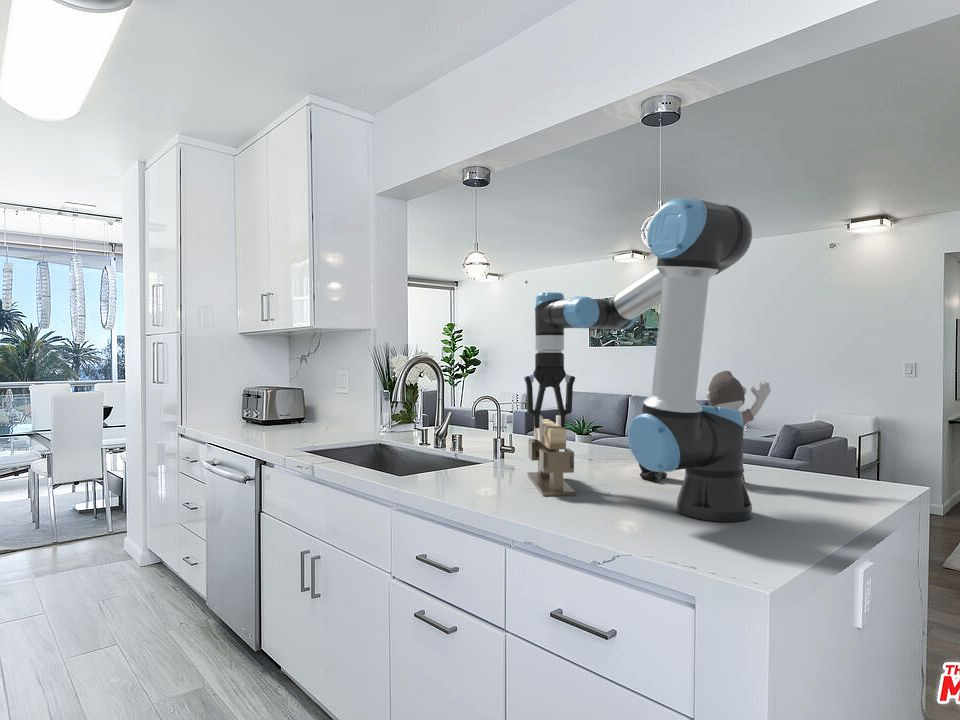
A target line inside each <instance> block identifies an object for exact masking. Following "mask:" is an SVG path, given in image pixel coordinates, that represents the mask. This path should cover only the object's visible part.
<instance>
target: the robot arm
mask: <svg viewBox="0 0 960 720" xmlns="http://www.w3.org/2000/svg"><path fill="white" fill-rule="evenodd" d="M752 239H753V228H752V224H751V221H750V220H749V218H748V217H747V215H746V214H745V213H744V212H743V211H741V210H740V209H739V208H737V207H735V206H731V205H728V204H720V203H714V202H711V201H706V200H703V199H702V200H701V199H698V198H687V197H686V198H685V197H680V198H679V197H677V198H673V199H671V200H668V201H667V202H665V203H664V204H663V205H661V206H660V208H659V210H657V211H655V213H654V215H653V216H652V218H651V220H650V223H649V226H648V229H647V233H646V240H647V241H646V242H647V245H648V247H649V248H650V252H651V253H652V254H653V255H654V256H656V257H657V260H656V261H657V263H656V267H655V268H653V270H651V271H650V272H648V273H647V274H645V275H644V276H642V277H641V278H639V279H638V280H637V281H635V282H632V284H630V285H629V286H628V287H626V288H625V289H622V290H621V291H620V292H618V293H616V295H614V296H612V297H611V298H609V299H602V298H601V299H599V298H598V299H597V298H592V297H589V296H575V297H571V298H570V297H569V298H565V296H564V294H563V293H562V292H552V291H550V292H540V293H538V294H537V295H536V296H535V307H534V319H535V320H534V321H535V322H534V323H535V324H534V325H535V330H534V331H535V347H534V349H535V351H536V353H535V355H534V357H535V358H534V361H535V362H534V366H535V369H534V371H533V373H532V374H530V375H525V376H524V377H523V380H524V382H525V385H526V411H527V413H528V414H530V415H533V428H534V427H535V428H538V440H539V441H543V417H544V416H542V415H541V410H542V406H543V401H544V396H545V392H546V389H547V388H549V387H551V388H553V391H554V396H555V402H556V407H557V411H558V415H555V423H556V424H558V425H559V426H561V427H563V428H565V427H566V426H565V423H566V419H565V417H566V415H569V414H570V415H571V414H572V412H573V391H574V389H573V388H574V383H575V381H576V377H575V376H573V375H569V374H567V373H566V370H565V354H564V352H562V351H564V350H565V329H594V330H595V329H599V330H601V329H602V330H614V331H621V330H627V329H630V328H632V327H633V326H634V324H635V323H636V322H637V319H638V317H639V316H640V315H642V314H643V313H645V312H647V311H649V310H650V309H652V308H654V307H656V306H657V305H659V304H660V309H659V317H658V318H659V319H658V328H657V339H656V346H655V347H656V348H655V356H654V357H655V358H654V367H653V368H654V369H653V375H652V376H653V377H652V385H651V386H652V387H651V394H650V395H649V396H648V397H646V398H645V399H644V400H643V401H642V409H641V414H639V415H637V416H635V417H634V419H633V420H632V421H631V422H630V423H629V425H628V429H627V441H628V442H627V443H628V446H629V449H630V451H631V454H632V455H633V456H634V458H635V461H637V463H638V465H639V464H640V465H642V466H643V467H644V468H646V469H648V470H650V471H655V472H661V471H664V472H666V473H671V472H674V471H677V470H679V471H680V470H684V473H685V475H684V478H683V481H682V485H681V487H680V490H679V493H678V495H677V498H676V511H677V512H678V513H679V514H681V515H683V516H687V517H689V518H693V519H698V520H703V521H704V520H705V521H710V522H711V521H713V522H726V523H727V522H728V523H729V522H741V521H747V520H750V519H751V518H752V516H753V506H752V501H751V499H750V497H749V493H748V490H747V487H746V483H745V484H744V481H743V474H744V473H743V468H744V430H745V426H743V417H742V414H741V412H742V411H740V410H739V409H738V410H737V409H732V408H724V407H714V406H710V405H704V404H703V405H701V404H700V403H699V402H698V401H697V399H696V398H697V389H698V383H699V382H698V381H699V380H698V379H699V371H700V362H701V353H702V345H703V335H704V328H705V327H704V326H705V319H706V308H707V300H708V299H707V298H708V293H709V292H708V290H709V281H710V280H711V278H712V277H714V276H716V275H719V274H720V273H721V272H724V271H725V270H728V269H729V268H730V267H732V266H733V265H734V264H736V263H737V262H739V260H741V259H742V258H743V257H744V256H745V255H746V253H747V251H748V250H749V248H750V246H751V243H752V241H753V240H752ZM534 379H535V380H536V381H537V383H538V384H539V386H538V391H537V397H536V401H535V405H534V400H533V399H534V397H533V396H534V395H533V393H534V392H533V390H534V389H533V383H534ZM564 379H565V380H564ZM563 381H564V382H565V383H566V384H565V405H564V402H563V397H562V392H561V385H560V384H561V383H562V382H563Z"/></svg>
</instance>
